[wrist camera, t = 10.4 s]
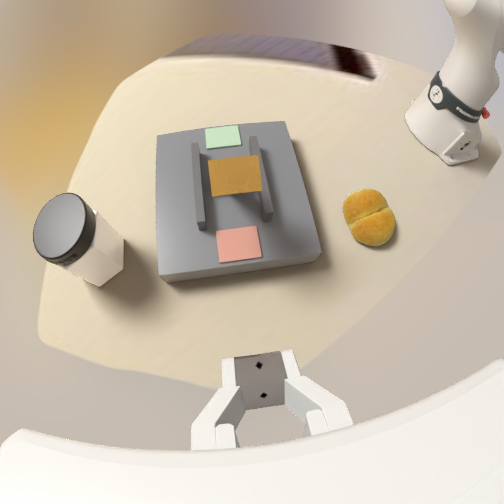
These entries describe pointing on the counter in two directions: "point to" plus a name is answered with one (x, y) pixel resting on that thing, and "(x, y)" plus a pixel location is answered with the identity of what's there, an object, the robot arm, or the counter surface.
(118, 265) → the jar
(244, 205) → the switch panel
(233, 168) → the breaker lever
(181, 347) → the counter surface
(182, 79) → the counter surface
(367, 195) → the bread roll
